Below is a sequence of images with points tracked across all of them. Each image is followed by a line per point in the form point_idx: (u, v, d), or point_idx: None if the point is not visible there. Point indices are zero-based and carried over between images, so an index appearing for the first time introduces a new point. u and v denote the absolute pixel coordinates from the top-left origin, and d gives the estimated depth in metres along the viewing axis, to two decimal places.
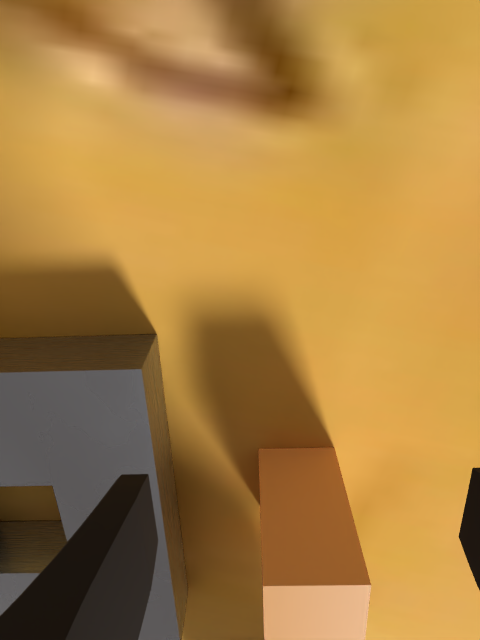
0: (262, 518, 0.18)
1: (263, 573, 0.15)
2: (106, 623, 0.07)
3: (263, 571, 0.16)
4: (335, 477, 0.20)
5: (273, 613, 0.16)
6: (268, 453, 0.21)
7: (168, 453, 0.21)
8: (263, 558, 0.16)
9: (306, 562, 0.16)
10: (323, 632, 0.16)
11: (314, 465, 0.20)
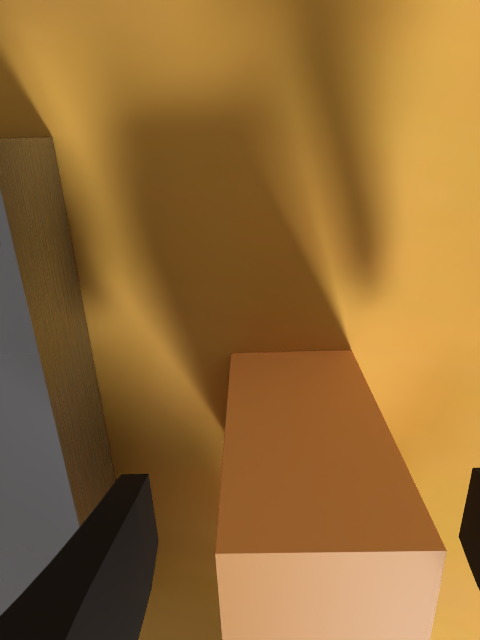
0: (227, 440, 0.10)
1: (219, 529, 0.07)
2: (106, 623, 0.07)
3: (219, 526, 0.08)
4: (356, 384, 0.12)
5: (240, 612, 0.08)
6: (246, 358, 0.13)
7: (84, 356, 0.13)
8: (222, 503, 0.08)
9: (307, 509, 0.08)
10: None
11: (320, 370, 0.12)
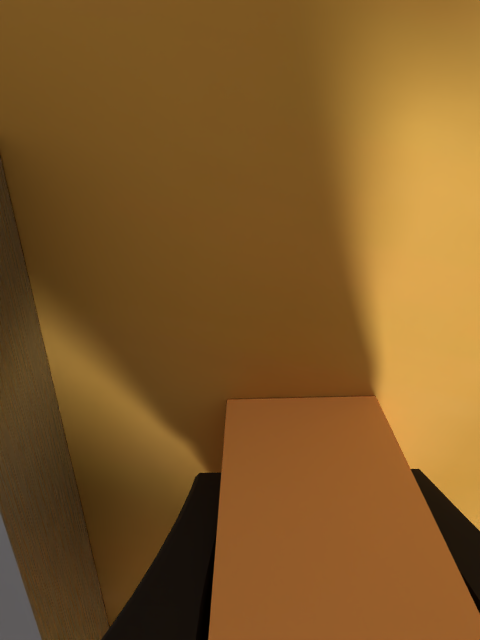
0: (220, 543, 0.07)
1: None
2: None
3: None
4: (386, 450, 0.09)
5: None
6: (246, 407, 0.11)
7: (44, 405, 0.10)
8: None
9: None
10: None
11: (339, 427, 0.10)
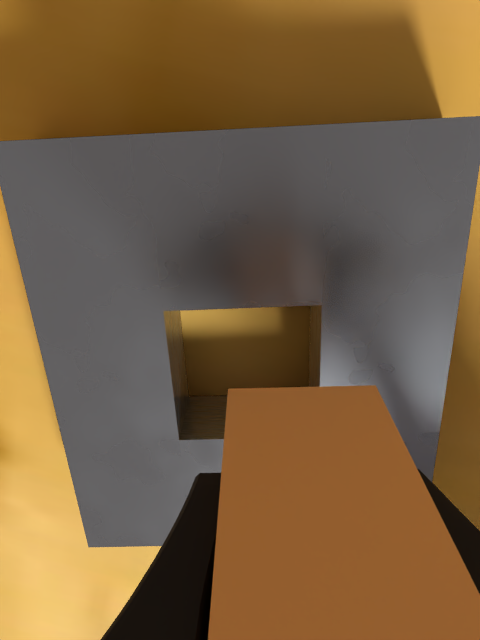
0: (221, 526, 0.07)
1: None
2: None
3: None
4: (386, 437, 0.09)
5: None
6: (246, 396, 0.11)
7: None
8: None
9: None
10: None
11: (339, 414, 0.10)
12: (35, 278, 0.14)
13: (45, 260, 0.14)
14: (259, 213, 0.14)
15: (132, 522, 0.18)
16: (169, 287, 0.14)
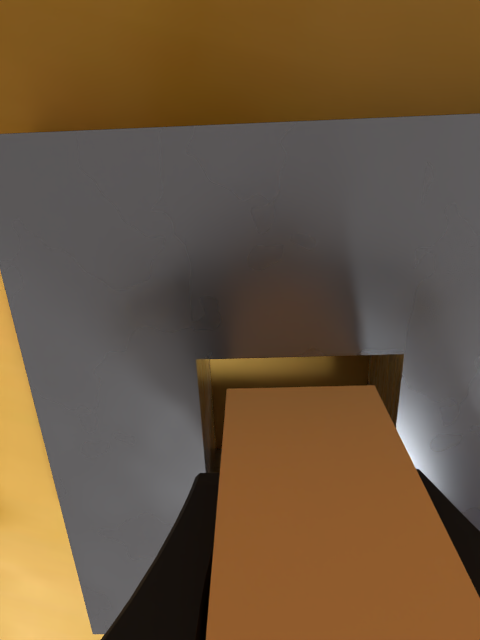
0: (219, 526, 0.07)
1: None
2: None
3: None
4: (385, 437, 0.09)
5: None
6: (245, 396, 0.11)
7: None
8: None
9: None
10: None
11: (337, 414, 0.10)
12: (29, 317, 0.11)
13: (42, 294, 0.11)
14: (330, 236, 0.10)
15: None
16: (205, 330, 0.11)
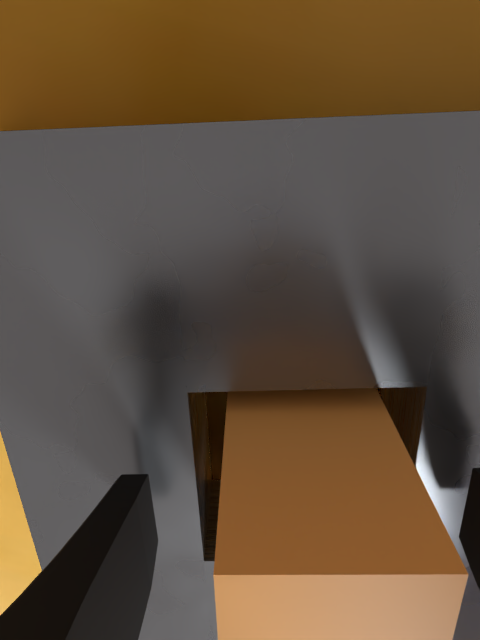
0: (226, 446, 0.09)
1: (218, 547, 0.07)
2: (106, 623, 0.07)
3: (218, 542, 0.07)
4: None
5: (239, 637, 0.07)
6: None
7: None
8: (221, 516, 0.07)
9: (314, 525, 0.07)
10: None
11: None
12: None
13: (8, 319, 0.09)
14: (343, 253, 0.09)
15: None
16: (197, 359, 0.10)
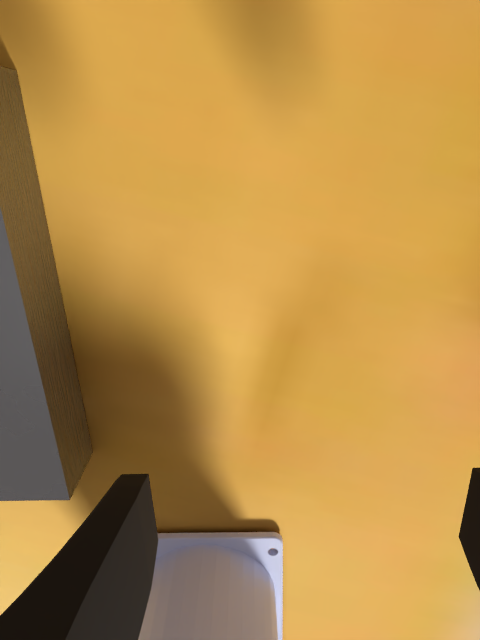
0: None
1: None
2: (106, 623, 0.07)
3: None
4: None
5: None
6: None
7: (44, 244, 0.17)
8: None
9: None
10: None
11: None
12: None
13: None
14: None
15: None
16: None
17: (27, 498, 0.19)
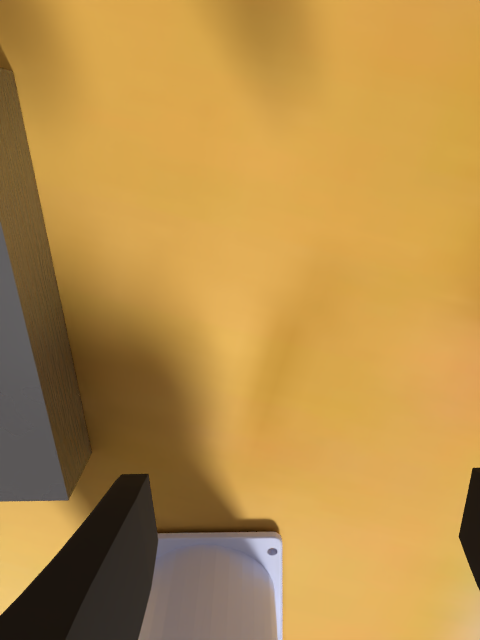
0: None
1: None
2: (106, 623, 0.07)
3: None
4: None
5: None
6: None
7: (41, 245, 0.17)
8: None
9: None
10: None
11: None
12: None
13: None
14: None
15: None
16: None
17: (26, 498, 0.19)
